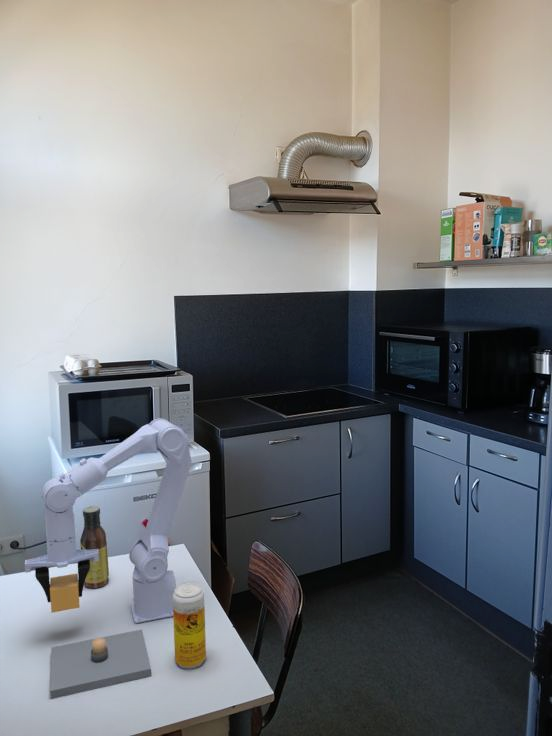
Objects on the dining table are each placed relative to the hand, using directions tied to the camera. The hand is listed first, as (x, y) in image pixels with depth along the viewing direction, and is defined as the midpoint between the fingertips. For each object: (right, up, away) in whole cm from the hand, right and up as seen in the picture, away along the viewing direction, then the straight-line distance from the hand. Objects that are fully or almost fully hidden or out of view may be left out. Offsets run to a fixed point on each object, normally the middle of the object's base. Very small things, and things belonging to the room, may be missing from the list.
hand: (65, 597), depth 127 cm
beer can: (+28, -10, -8) cm, 30 cm away
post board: (+10, -10, -9) cm, 17 cm away
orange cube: (0, -1, 0) cm, 1 cm away
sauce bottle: (0, -6, +23) cm, 24 cm away
